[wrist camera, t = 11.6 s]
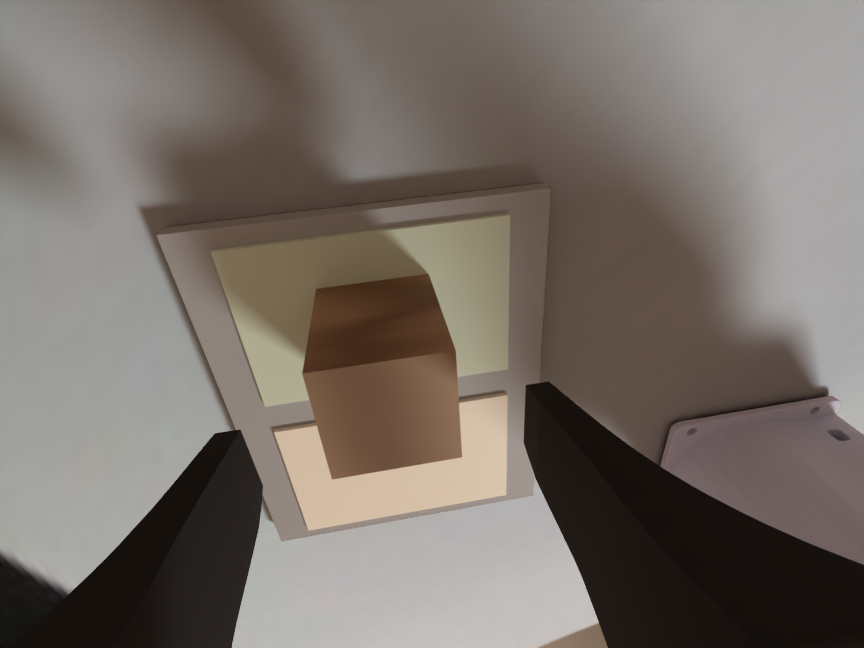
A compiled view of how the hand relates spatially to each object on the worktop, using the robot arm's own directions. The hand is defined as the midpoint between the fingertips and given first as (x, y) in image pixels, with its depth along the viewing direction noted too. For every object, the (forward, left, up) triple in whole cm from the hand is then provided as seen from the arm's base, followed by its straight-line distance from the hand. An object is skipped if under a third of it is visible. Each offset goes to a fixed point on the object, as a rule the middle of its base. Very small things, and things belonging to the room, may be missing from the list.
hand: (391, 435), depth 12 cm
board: (0, +4, -7) cm, 8 cm away
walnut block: (0, 0, -6) cm, 6 cm away
